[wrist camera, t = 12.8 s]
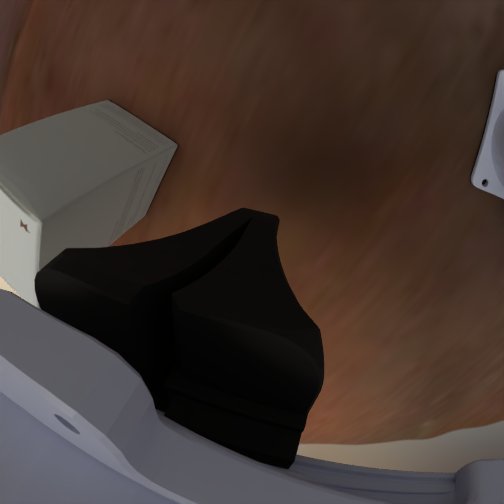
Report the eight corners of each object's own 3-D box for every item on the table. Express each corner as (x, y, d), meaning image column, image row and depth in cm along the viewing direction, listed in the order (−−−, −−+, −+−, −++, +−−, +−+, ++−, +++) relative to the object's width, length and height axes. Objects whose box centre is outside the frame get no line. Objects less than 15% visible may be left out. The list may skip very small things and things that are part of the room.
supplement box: (108, 96, 20) (-37, 144, 10) (181, 144, 21) (42, 226, 11) (83, 171, 25) (-32, 242, 14) (145, 219, 25) (37, 317, 15)
